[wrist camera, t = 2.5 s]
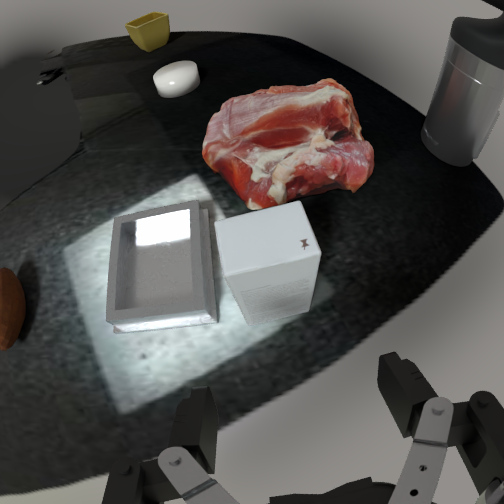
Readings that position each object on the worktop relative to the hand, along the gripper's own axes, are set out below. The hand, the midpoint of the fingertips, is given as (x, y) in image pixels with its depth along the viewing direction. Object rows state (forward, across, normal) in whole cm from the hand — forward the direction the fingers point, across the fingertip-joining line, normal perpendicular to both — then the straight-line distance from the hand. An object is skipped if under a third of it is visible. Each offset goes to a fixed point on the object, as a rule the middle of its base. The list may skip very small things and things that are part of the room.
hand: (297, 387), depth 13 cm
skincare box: (+16, 0, +3) cm, 17 cm away
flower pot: (+64, +18, -45) cm, 80 cm away
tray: (+20, +11, 0) cm, 23 cm away
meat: (+29, -5, -9) cm, 31 cm away
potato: (+18, +33, +2) cm, 38 cm away
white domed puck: (+46, +10, -26) cm, 54 cm away
